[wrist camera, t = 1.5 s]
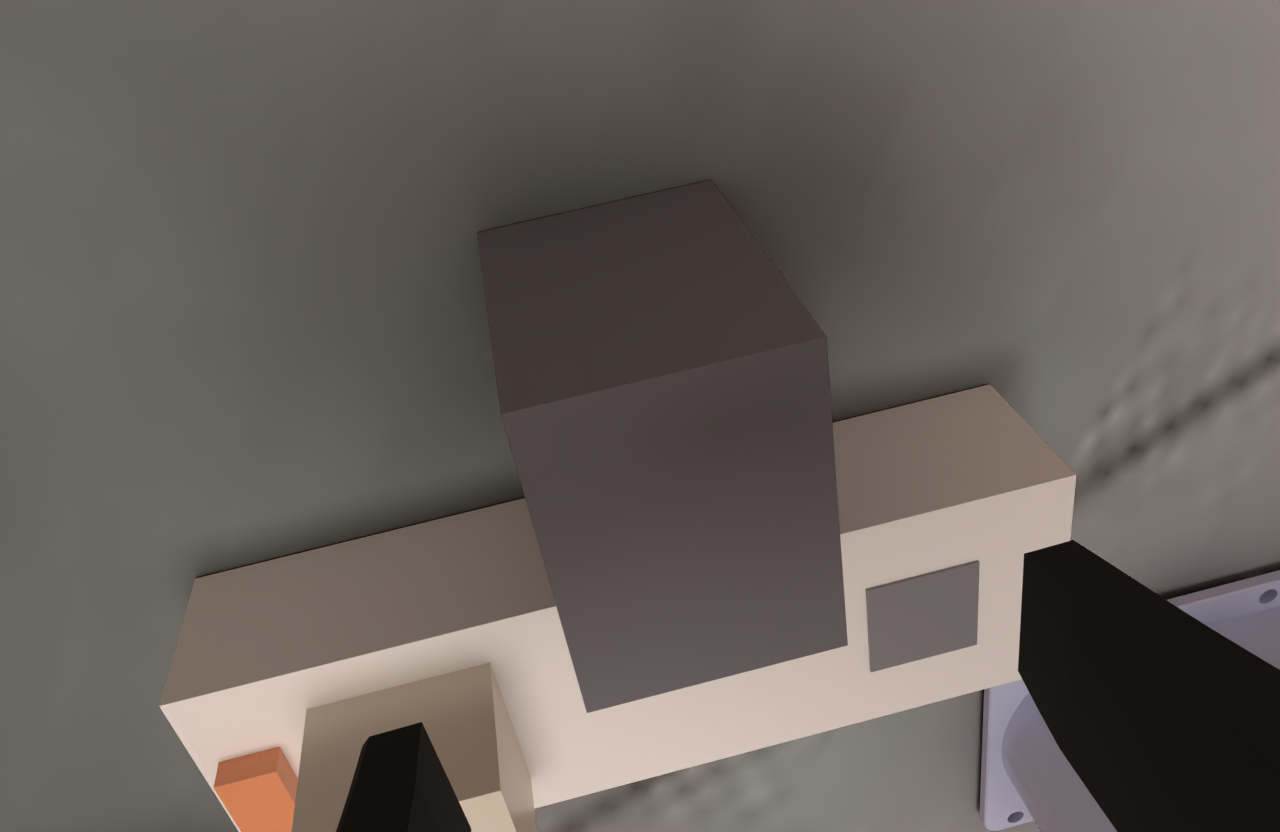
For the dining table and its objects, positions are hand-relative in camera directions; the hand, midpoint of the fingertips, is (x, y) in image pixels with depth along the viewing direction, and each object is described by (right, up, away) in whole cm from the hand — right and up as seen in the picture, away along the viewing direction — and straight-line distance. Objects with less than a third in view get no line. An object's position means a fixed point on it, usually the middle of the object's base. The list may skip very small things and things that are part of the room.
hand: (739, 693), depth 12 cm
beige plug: (-5, -3, +9) cm, 11 cm away
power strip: (-1, 0, +12) cm, 12 cm away
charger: (-1, +4, +10) cm, 10 cm away
